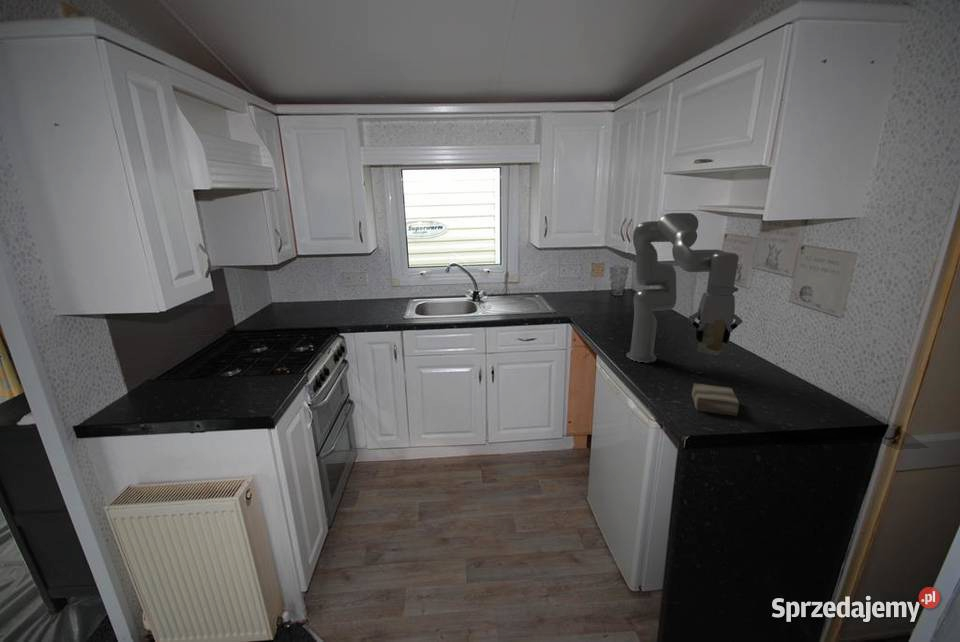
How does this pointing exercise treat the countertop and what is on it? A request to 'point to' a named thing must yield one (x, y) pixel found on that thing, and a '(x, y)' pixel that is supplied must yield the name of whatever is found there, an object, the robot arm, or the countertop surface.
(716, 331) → the skincare box
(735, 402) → the birch block
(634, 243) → the robot arm
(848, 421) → the countertop surface
